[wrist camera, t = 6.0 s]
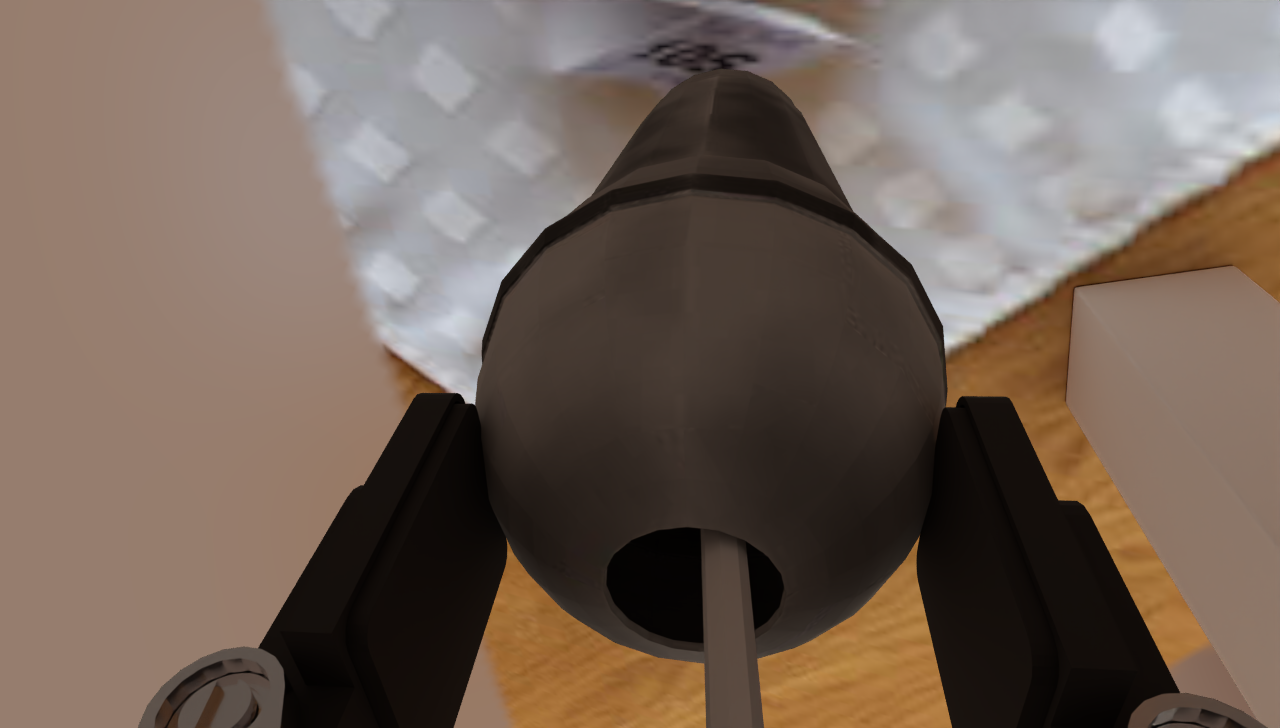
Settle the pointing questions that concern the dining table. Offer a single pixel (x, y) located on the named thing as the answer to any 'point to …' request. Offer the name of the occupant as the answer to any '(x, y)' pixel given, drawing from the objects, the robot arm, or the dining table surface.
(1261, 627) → the milk
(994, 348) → the dining table surface
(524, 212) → the dining table surface
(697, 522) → the beverage cup
